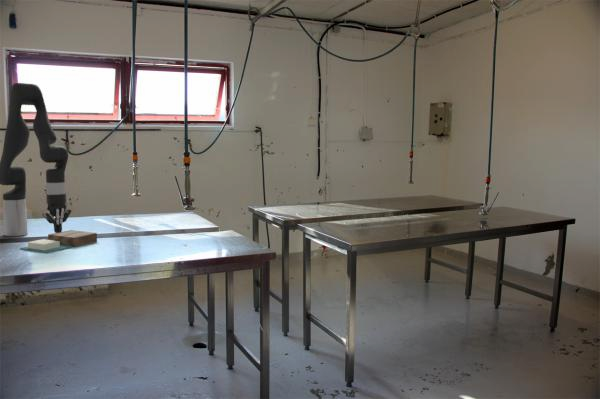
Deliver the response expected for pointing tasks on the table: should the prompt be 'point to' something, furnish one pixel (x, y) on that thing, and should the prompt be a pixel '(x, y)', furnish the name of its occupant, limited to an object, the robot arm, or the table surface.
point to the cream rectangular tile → (43, 244)
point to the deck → (73, 238)
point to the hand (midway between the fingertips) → (58, 232)
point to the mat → (49, 249)
